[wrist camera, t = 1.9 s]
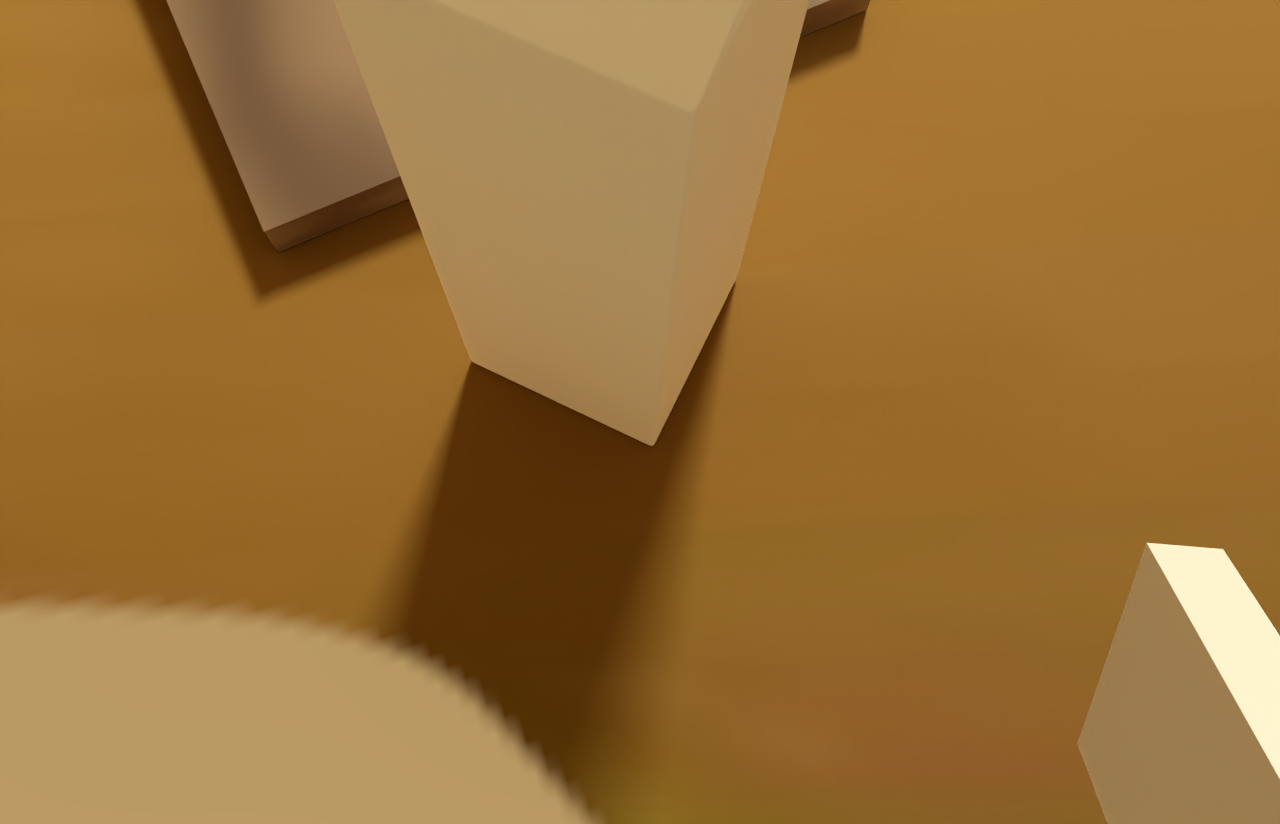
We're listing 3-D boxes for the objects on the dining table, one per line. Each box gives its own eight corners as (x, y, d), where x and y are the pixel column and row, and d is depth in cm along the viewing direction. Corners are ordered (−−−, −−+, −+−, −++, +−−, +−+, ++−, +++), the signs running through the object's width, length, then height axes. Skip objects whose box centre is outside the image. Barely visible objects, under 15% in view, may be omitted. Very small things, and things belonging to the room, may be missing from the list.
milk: (653, 449, 34) (716, -19, 13) (466, 361, 35) (228, -227, 13) (740, 271, 36) (927, -414, 14) (559, 189, 36) (479, -585, 15)
